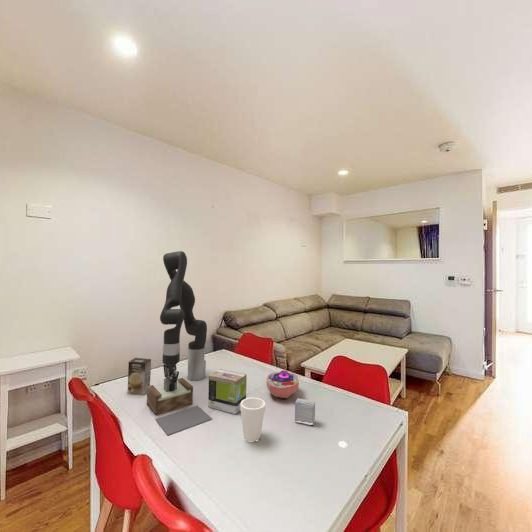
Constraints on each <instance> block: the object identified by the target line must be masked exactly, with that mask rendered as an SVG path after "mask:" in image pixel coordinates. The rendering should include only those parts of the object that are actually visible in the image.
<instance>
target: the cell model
mask: <svg viewBox="0 0 532 532" xmlns="http://www.w3.org/2000/svg"><path fill="white" fill-rule="evenodd" d="M265 384H266V388H267V390H268V391H269V393H270V394H271V396H273V397H276V398H278V397H279V398H280V399H288V398H290V396H293V394H295V393H296V392H297V391H298V390H299V385H300V380H299V376H298V375H297V374H295V373H293V372H288V371H287V370H285V369H283V370H281V371H279V372H275V371H274V372H272V373H270V374H268V375H266V383H265Z"/></svg>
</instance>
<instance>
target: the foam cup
mask: <svg viewBox="0 0 532 532" xmlns="http://www.w3.org/2000/svg"><path fill="white" fill-rule="evenodd" d="M265 412H266V402H265V400H263V399H261V398H260V397H246V399H244V400H242V401H241V403H240V415H241V417H240V418H241V424H242V433H243V434H242V435H243V440H244V439H246V440H247V441H256V440H258V439H259V438H260V439H261V436H262V435H261V434H262V428H263V421H264V415H265ZM247 441H246V442H247Z"/></svg>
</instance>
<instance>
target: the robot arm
mask: <svg viewBox="0 0 532 532" xmlns="http://www.w3.org/2000/svg"><path fill="white" fill-rule="evenodd" d="M162 259H163V264H164V267H165V270H166V272H167V274H168V277H169V279H170V282H169V284H168V286H167V288H166V293H165V294H166V295H165V303H164V306H163V308H162V310H161V313H160V316H159V320H160V323H161V324H162V325H165V326H166V325H167V326H168V325H175V326H174V327H172V328H168V329H166V330H164V331H163V345H162V364H163V373H164V378H169V391H174V388H175V382H178V379H179V375H180V371H179V370H177V369H178V368H177V364H178V363H179V362H180V355H181V353H180V352H181V345H180V344H181V343H180V340H181V339H180V338H181V328H182V326H183V324H184V328H185V332H186V333H187V334H188V335H190V336H194V340H193V341H189V342H188V345H187V346H188V347H187V349H188V351H187V379H188V380H189V381H200V380H203V379H204V378H206V371H207V370H206V367H207V361H206V359H205V358H206V357H205V354H206V351H205V349H206V348H205V346H206V343H207V333H208V326H207V325H208V324H207V323H206V321H205V320H202V319H196V318H195V315H194V312H193V310H194V307H195V303H196V296H195V293H194V290H193V288H192V287H191V285H190V284H189V283H188V282H187V281H185V280H184V279H185V276H186V270H187V266H188V258H187V255H186V253H185V252H184V251H182V250H180V251H174V252H173V251H172V252H168V253H165V254H163V257H162ZM175 307H179V308H175Z"/></svg>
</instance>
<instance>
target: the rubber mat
mask: <svg viewBox="0 0 532 532" xmlns="http://www.w3.org/2000/svg"><path fill="white" fill-rule="evenodd" d="M154 419H155V422H156V423H157V424H158V425H159V427H160V428H161V429H162V431H163V432H164V433H165V434H166V436H168V437H169V436H171V435H174V434H177V433H180V432H182V431H184V430H187V429H190V428H192V427H196V426H199V425H201V424H204V423H207V422H210V421H212V420H213V418H212V417H211V416H210V415H209V414H208V413H207V412H205V410H203V409H202V408H201V407H200V406H199V405H195V406H191V407H188V408H185V409H182V410H178V411H176V412H173V413H169V414H166V415H163V416H160V417H157V418H154Z"/></svg>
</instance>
